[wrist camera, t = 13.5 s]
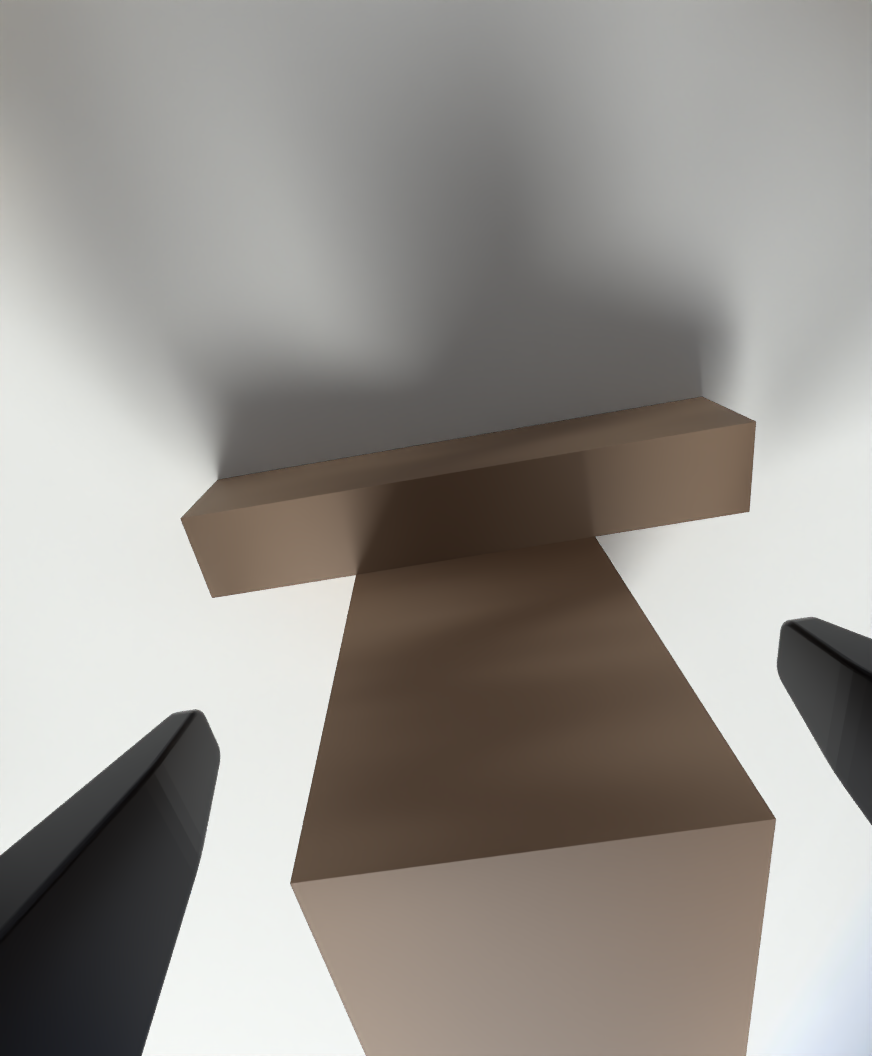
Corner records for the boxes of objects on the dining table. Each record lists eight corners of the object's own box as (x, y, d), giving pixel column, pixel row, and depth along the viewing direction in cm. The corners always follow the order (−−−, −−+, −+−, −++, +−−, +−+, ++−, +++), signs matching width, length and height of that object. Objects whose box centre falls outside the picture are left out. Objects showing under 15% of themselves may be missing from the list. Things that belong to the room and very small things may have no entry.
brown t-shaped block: (701, 396, 10) (1176, 616, 4) (694, 643, 12) (979, 1038, 6) (218, 479, 11) (-90, 800, 4) (297, 702, 13) (175, 1126, 7)
